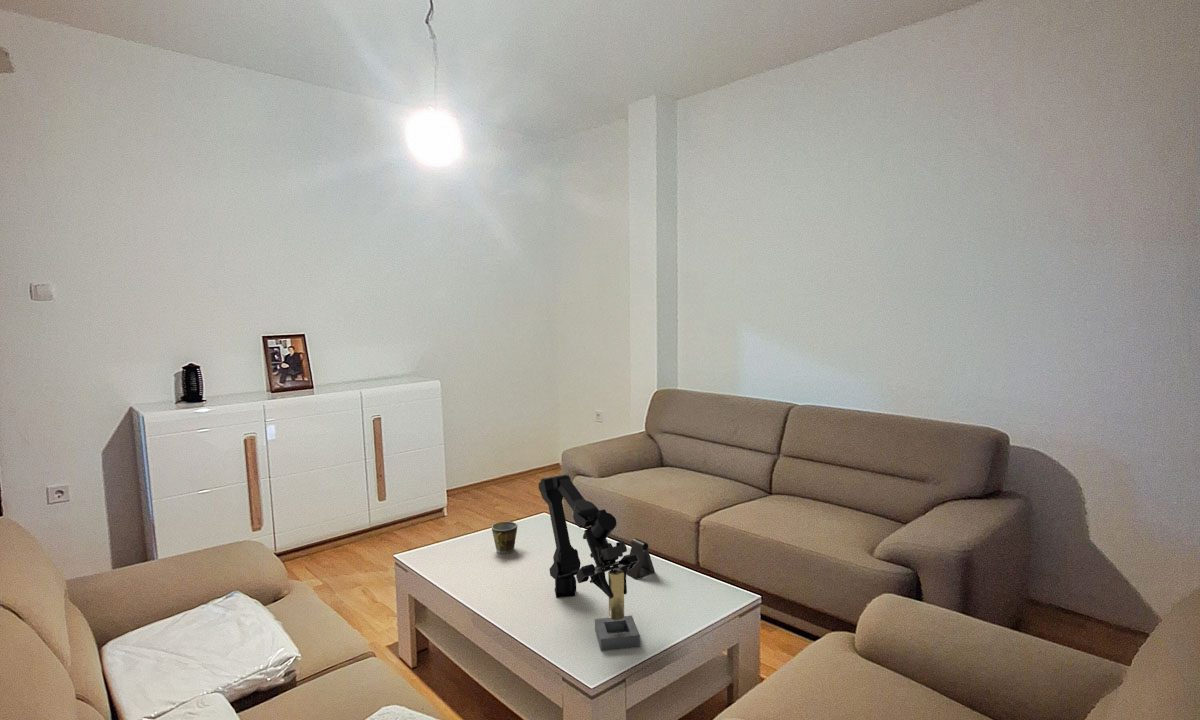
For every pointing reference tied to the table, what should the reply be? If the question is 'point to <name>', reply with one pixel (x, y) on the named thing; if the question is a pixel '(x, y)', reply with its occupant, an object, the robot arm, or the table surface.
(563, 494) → the robot arm
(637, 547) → the phone stand
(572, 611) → the table surface
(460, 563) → the table surface
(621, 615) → the brass sleeve
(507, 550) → the ceramic cup
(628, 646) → the jig block
